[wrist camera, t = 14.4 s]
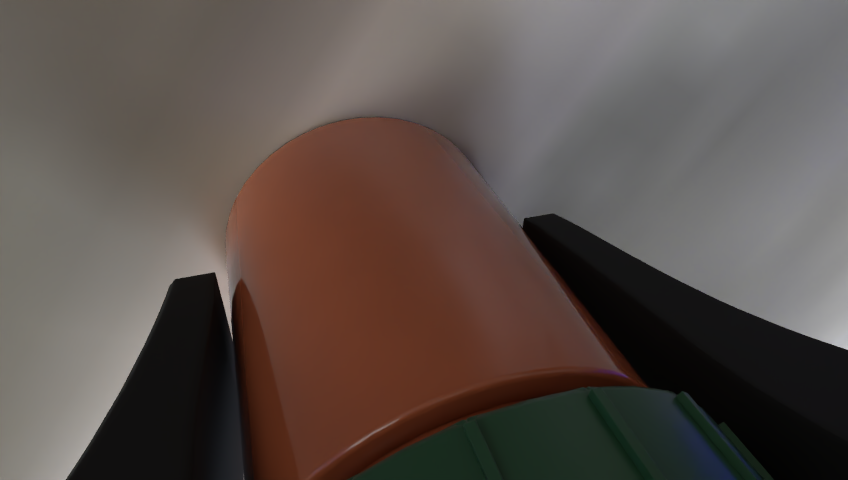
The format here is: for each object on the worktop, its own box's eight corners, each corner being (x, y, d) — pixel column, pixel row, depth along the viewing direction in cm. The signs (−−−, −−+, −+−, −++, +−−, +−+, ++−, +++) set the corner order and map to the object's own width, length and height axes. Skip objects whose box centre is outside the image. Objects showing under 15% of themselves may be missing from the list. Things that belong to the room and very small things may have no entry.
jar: (172, 175, 9) (144, 755, 4) (461, 76, 10) (830, 439, 4) (284, 363, 13) (362, 820, 7) (495, 280, 13) (727, 637, 8)
